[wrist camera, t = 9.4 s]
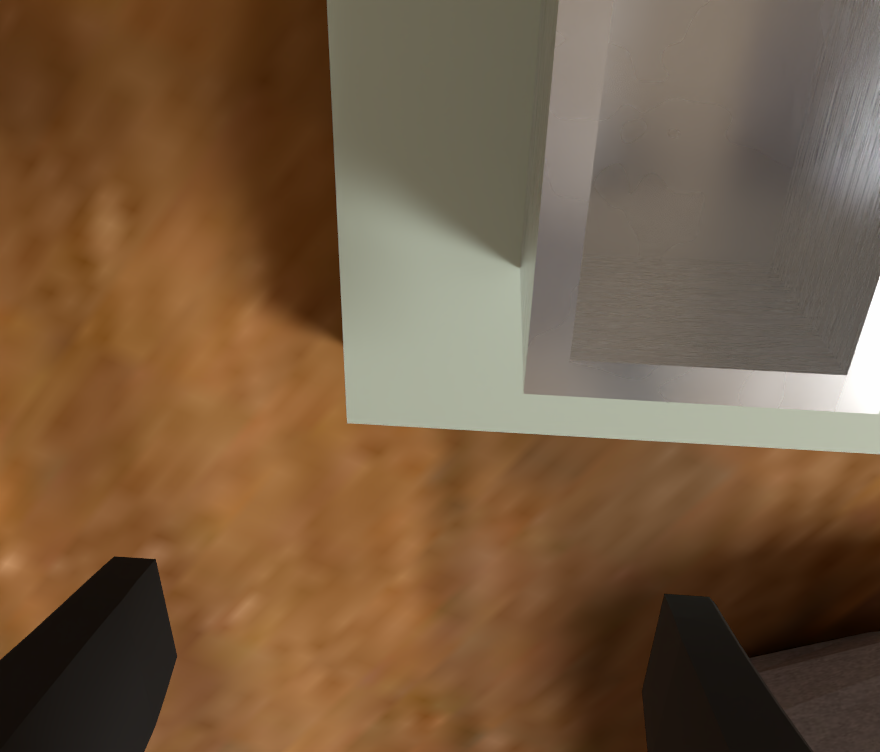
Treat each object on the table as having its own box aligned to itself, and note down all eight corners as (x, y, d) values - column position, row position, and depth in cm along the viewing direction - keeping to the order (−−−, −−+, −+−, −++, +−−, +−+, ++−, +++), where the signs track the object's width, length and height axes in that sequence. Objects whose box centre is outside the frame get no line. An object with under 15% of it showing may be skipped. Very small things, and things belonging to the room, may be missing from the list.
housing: (520, 268, 15) (523, 394, 12) (568, -352, 11) (601, -484, 7) (785, 281, 15) (878, 414, 11) (952, -347, 11) (1206, -482, 7)
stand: (367, 355, 20) (346, 423, 18) (338, -584, 12) (292, -713, 9) (857, 381, 20) (909, 455, 17) (1186, -590, 11) (1385, -729, 9)
